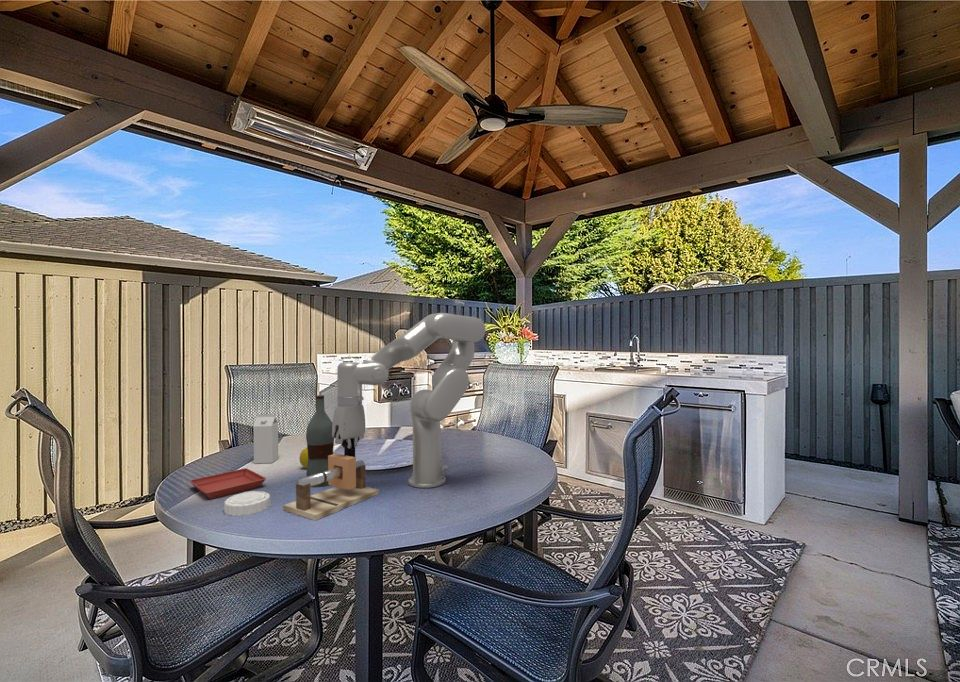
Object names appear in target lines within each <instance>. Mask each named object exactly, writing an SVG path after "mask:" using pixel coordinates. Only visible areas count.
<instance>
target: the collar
mask: <svg viewBox="0 0 960 682" xmlns="http://www.w3.org/2000/svg"><path fill="white" fill-rule="evenodd" d="M356 461H357V457H356V456H355V457H351V456H346V455H344V454H341V453H333V454H332V455H329V456H328V470H330V469H334V468H337V467H340V466H341V467H343V476H341V477H338V478H335V479H332V480H329V481H328V485H327V486H333V487H340V488H345V489H351V488H354V487H356Z"/></svg>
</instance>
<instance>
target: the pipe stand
mask: <svg viewBox="0 0 960 682" xmlns="http://www.w3.org/2000/svg"><path fill="white" fill-rule="evenodd" d="M366 467H367V466H366V465H364V466H361V467H360V470H359V471H356V487H354V488H351V489H345V488H340V487H336V486H333V487H331V488H329V489H325V490H323V491H320V492H317V493H314V494H311V487H310V484H307V485H304V486H303V489H302V486H300V485H299V484H297V482H296V483H295V501H292V502H288V503H286V504H283V505H282V509H283V510H282V511H284V512H287V513H289V514H293V515H295V516H296V515H297V516H299V515H300V516H299V517H302V516H303V517H302V518H305V517H306V519H308V518H309V520H311V519H312V520H311V521H316V522H317V521H318V520H321V519H323V518H325V517H327V516H328V517H329V516H330V515H332V514H334V513H337V512H339V510H340V511H342V510H344V509H347V508H349V507H352V506H353V505H356V504H359V503H361V502H363V501H366V500H369V499H371V498H372V497H376V496H377V495H379V494H380V493H379V489H378V488H373V487H370V486H366V485H367V483H366V482H367V481H366V479H367V478H366V477H367V475H366V473H367V472H366ZM297 485H298V486H297ZM299 487H301V488H299ZM298 488H299V489H298ZM301 489H302V490H301ZM351 505H352V506H351ZM346 507H347V508H346ZM343 508H344V509H343ZM341 509H342V510H341Z"/></svg>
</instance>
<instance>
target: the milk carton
mask: <svg viewBox="0 0 960 682" xmlns="http://www.w3.org/2000/svg"><path fill="white" fill-rule="evenodd" d="M277 419H278V418H276V414H275V413H272V414H270V413H269V414H268V413H266V414H256V418H255V420H254V424H253V463H254V464H255V465H256V464H273V463H274V462H276V461H277V460H278V459H279V422H278V420H277Z"/></svg>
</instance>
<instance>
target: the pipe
mask: <svg viewBox="0 0 960 682" xmlns="http://www.w3.org/2000/svg"><path fill="white" fill-rule="evenodd" d="M365 464H366V463H365V461H364V460H363V459H359V460H356V471H359V470H360V467H361V466H364V465H365ZM365 466H366V465H365ZM341 476H343V467H341V466H340V467H337V468H334V469H330V470H327V471H324V472H320V473H318V474H315V475H311V476H308V477H307V476H305V477H302V478H299V479H297V481H296V483H297V484H299V485H300V486H302V489H303V486H304V485H307V484H310V488H312V486H315V485H318V484H321V483H325V482H326V481H329V480H332V479H335V478H338V477H341ZM297 486H298V485H297ZM299 488H301V487H299ZM299 488H298V489H299ZM302 489H301V490H302Z"/></svg>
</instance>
